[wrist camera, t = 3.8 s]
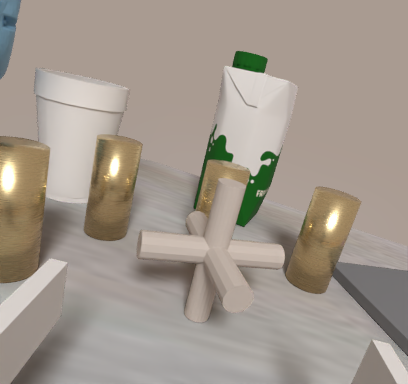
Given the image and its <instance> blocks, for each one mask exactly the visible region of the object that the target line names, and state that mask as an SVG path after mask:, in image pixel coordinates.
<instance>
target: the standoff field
mask: <svg viewBox="0 0 408 384" xmlns="http://www.w3.org/2000/svg"><path fill="white" fill-rule="evenodd" d="M142 145H143V144H142V143H140V142H139V141H137V140H134V139H131V138H127V137H123V136H118V135H110V134H100V135H97V139H96V146H95V153H94V160H93V167H92V174H91V181H90V188H89V195H88V202H87V209H86V216H85V223H84V232H85V233H86V234H87V235H89V236H90V237H93V238H95V239H99V240H106V241H113V240H119V239H122V238H123V237H125V235H126V232H127V227H128V221H129V216H130V210H131V205H132V200H133V194H134V189H135V183H136V178H137V173H138V167H139V162H140V156H141V151H142ZM49 157H50V147H49V146H47V145H45V144H43V143H40V142H37V141H34V140H29V139H24V138H17V137H6V136H0V283H9V282H16V281H20V280H23V279H26V278H28V277H30V276H31V275H33V274H34V273H35V272H36V271H37V269H38V264H39V254H40V244H41V235H42V225H43V215H44V206H45V196H46V186H47V177H48V167H49ZM250 172H251V171H250V170H249V169H247V168H245V167H243V166H241V165H238V164H235V163H232V162H228V161H223V160H215V159H212V160H208V162H207V166H206V170H205V174H204V178H203V182H202V186H201V190H200V194H199V198H198V203H197V207H196V211H200V212H202V213H204V214H205V215H206V217H207V218H209V214H210V210H211V206H212V202H213V198H214V194H215V191H216V187H217V183H218V179H220V178H227V179H232V180H236V181H238V182H241V183H243V184H244V185H246V186H247V183H248V179H249V176H250ZM245 190H246V189H245ZM243 197H244V196H243ZM241 204H242V203H241ZM360 204H361V201H360V200H359V199H357V198H356V197H353V196H351V195H349V194H347V193H344V192H341V191H338V190H335V189H331V188H327V187H316V188H315V191H314V194H313V196H312V200H311V202H310V205H309V208H308V211H307V214H306V216H305V219H304V222H303V225H302V228H301V231H300V234H299V236H298V239H297V242H296V245H295V248H294V251H293V254H292V256H291V259H290V262H289V265H288V268H287V271H286V274H285V275H286V278H287V279H288V280H289V281H290V282H291V283H292V284H293V285H295V286H296V287H298V288H300V289H302V290H304V291H307V292H310V293H316V294H321V293H324V292H326V290H327V287H328V285H329V282H330V280H331V277H332V275H333V272H334V270H335V267H336V265H337V262H338V260H339V257H340V255H341V252H342V250H343V247H344V245H345V242H346V240H347V237H348V235H349V232H350V230H351V227H352V224H353V222H354V219H355V217H356V214H357V212H358V209H359V207H360ZM239 211H240V210H239ZM237 218H238V217H237ZM235 225H236V224H235ZM233 232H234V231H233ZM231 239H232V238H231Z"/></svg>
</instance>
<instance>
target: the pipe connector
mask: <svg viewBox="0 0 408 384" xmlns="http://www.w3.org/2000/svg"><path fill="white" fill-rule="evenodd" d="M245 189H246V185H244V184H243V183H241V182H238V181H236V180H232V179H227V178H220V179H218V183H217V187H216V191H215V194H214V198H213V202H212V206H211V210H210V214H209V218H207V217H206V215H205V214H204V213H202V212H200V211H195V212H192V213H191V214H189V215H188V217H187V218H186V227H187V229H188V231H189V233H190V235H186V234H177V233H167V232H157V231H148V230H141V231H140V233H139V237H138V243H137V258H138V259H145V260H158V261H171V262H184V263H197V264H196V268H195V272H194V276H193V279H192V283H191V287H190V291H189V295H188V299H187V303H186V306H185V310H184V314H185V316H186V317H187V318H188V319H190V320H192V321H194V322H199V323H200V322H205V321H207V320H208V318H209V315H210V312H211V308H212V305H213V301H214V298H215V294H216V292H217V294H218V296H219V298H220V301H221V303H222V305H223V307H224V308H225V309H226V310H227V311H228V312H232V313H238V312H242V311H244V310H245V309H247V308H248V307H249V306H250V305H251V303H252V302H253V299H254V293H253V291H252V289H251V288H250V286H249V285H248V283H247V281H246V280H245V278H244V276H243V275H242V273H241V272H240V270H239V268H238V267H250V268H263V269H276V270H278V269H280V268H282V266H283V264H284V260H285V253H284V249H283V247H282V245H280V244H274V243H264V242H254V241H245V240H235V239H231V238H232V235H233V231H234V228H235V224H236V221H237V217H238V214H239V210H240V207H241V203H242V200H243V196H244V193H245Z"/></svg>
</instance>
